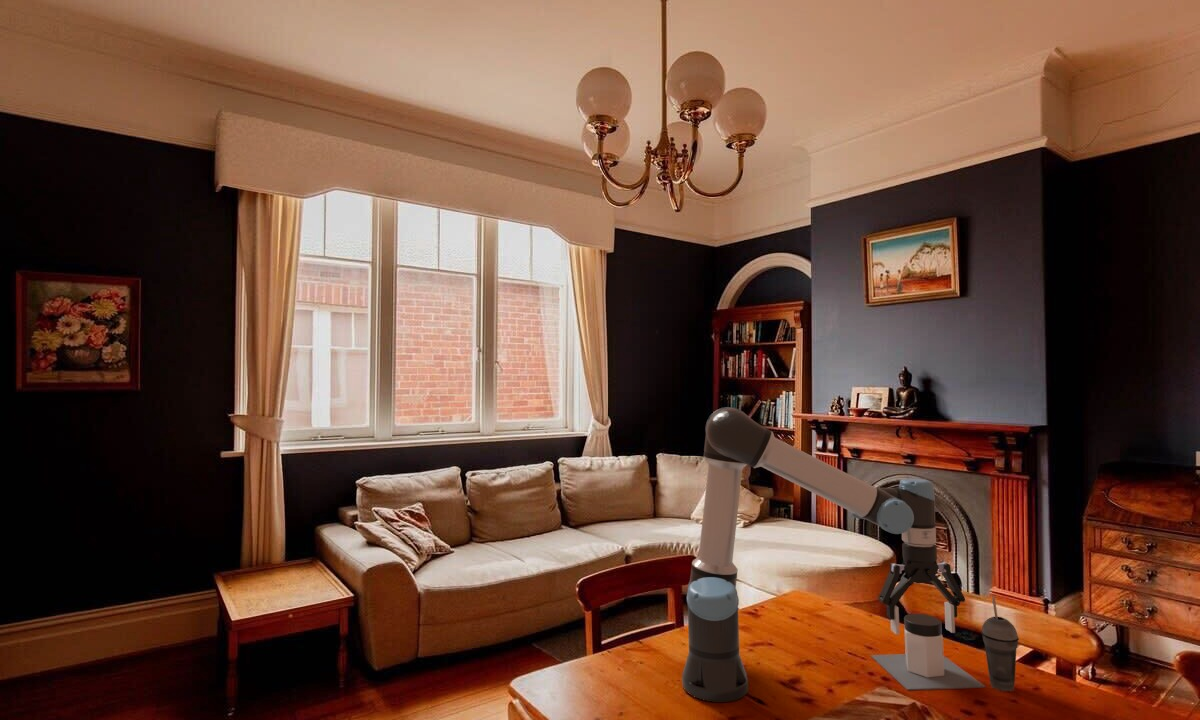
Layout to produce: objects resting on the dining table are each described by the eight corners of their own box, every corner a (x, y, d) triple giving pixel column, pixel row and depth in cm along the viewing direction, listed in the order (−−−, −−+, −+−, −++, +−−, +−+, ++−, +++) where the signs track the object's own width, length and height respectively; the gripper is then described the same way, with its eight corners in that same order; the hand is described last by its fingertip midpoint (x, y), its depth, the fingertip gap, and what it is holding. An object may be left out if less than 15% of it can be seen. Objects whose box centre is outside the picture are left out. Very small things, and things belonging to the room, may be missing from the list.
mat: (907, 690, 142) (907, 689, 142) (870, 656, 160) (870, 655, 160) (985, 687, 143) (985, 686, 143) (939, 654, 161) (939, 652, 161)
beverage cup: (1003, 696, 138) (999, 605, 139) (975, 682, 145) (971, 594, 146) (1029, 691, 140) (1024, 601, 141) (1000, 677, 147) (996, 591, 148)
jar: (951, 670, 150) (949, 620, 151) (936, 681, 145) (934, 629, 146) (913, 658, 157) (911, 610, 158) (898, 668, 152) (896, 618, 153)
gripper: (876, 548, 149) (879, 639, 148) (978, 545, 149) (983, 636, 148) (861, 540, 156) (865, 627, 155) (959, 538, 157) (963, 624, 156)
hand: (922, 631), depth 152 cm, fingers open, 13 cm apart
